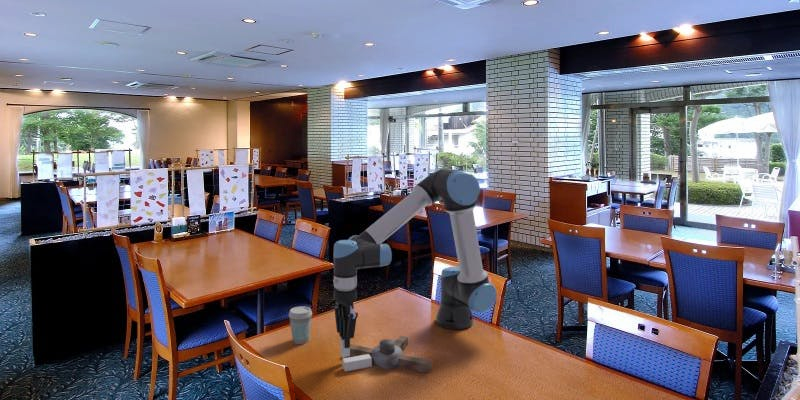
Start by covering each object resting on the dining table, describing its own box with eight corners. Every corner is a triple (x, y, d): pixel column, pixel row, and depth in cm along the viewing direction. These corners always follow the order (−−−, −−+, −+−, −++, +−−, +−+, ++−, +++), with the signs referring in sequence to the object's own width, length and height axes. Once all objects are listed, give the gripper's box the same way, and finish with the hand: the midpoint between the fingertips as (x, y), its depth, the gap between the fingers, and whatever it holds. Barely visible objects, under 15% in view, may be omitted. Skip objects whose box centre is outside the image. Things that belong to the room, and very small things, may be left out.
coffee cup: (307, 347, 162) (306, 315, 161) (285, 344, 164) (284, 313, 162) (316, 337, 170) (315, 306, 169) (295, 335, 172) (294, 304, 171)
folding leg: (368, 362, 150) (368, 354, 150) (371, 366, 148) (371, 357, 147) (342, 367, 147) (342, 358, 147) (345, 371, 144) (344, 362, 144)
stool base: (405, 342, 166) (405, 324, 166) (433, 372, 145) (434, 351, 144) (344, 353, 158) (344, 334, 157) (364, 386, 136) (364, 364, 135)
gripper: (326, 284, 151) (326, 351, 154) (344, 295, 140) (344, 366, 143) (345, 280, 155) (345, 345, 158) (365, 291, 145) (364, 360, 148)
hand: (345, 355), depth 151 cm, fingers closed
